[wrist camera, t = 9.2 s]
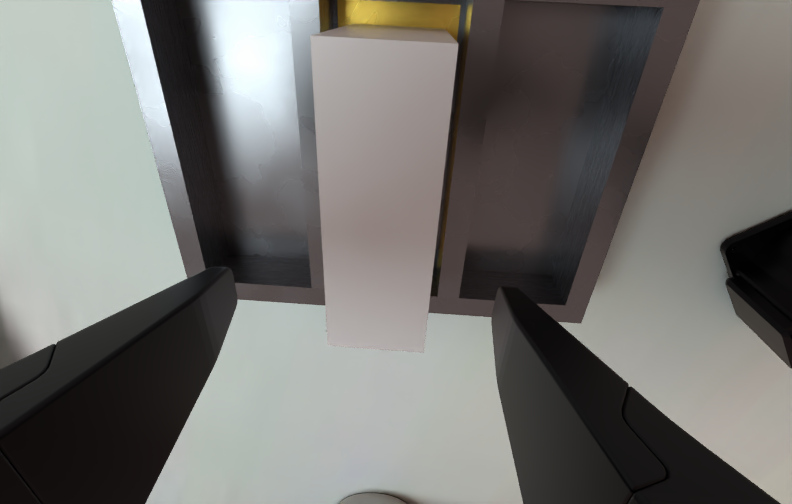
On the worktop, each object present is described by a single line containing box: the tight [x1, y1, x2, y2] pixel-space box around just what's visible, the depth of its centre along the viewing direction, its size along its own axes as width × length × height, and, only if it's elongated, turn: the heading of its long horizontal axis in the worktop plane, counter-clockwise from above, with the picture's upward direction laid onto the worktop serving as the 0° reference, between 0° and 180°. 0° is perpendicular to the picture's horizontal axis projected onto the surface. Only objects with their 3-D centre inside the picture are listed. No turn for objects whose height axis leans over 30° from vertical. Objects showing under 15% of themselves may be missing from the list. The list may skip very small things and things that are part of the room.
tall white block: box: [310, 24, 459, 353], centre depth 15 cm, size 10×4×7 cm, turn 177°
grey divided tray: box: [111, 0, 700, 323], centre depth 17 cm, size 19×14×3 cm
